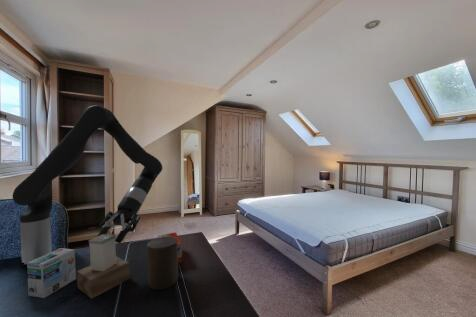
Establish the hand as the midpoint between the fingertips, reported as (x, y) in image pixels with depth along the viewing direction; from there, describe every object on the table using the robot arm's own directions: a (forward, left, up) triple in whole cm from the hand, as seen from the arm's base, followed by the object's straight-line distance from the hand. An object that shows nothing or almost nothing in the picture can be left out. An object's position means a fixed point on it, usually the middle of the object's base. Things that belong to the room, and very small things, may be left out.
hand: (108, 240), depth 73 cm
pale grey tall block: (0, -2, -8) cm, 8 cm away
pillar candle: (+19, +5, -14) cm, 24 cm away
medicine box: (+11, +19, -14) cm, 26 cm away
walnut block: (0, -2, -14) cm, 14 cm away
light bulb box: (-15, -8, -14) cm, 22 cm away
